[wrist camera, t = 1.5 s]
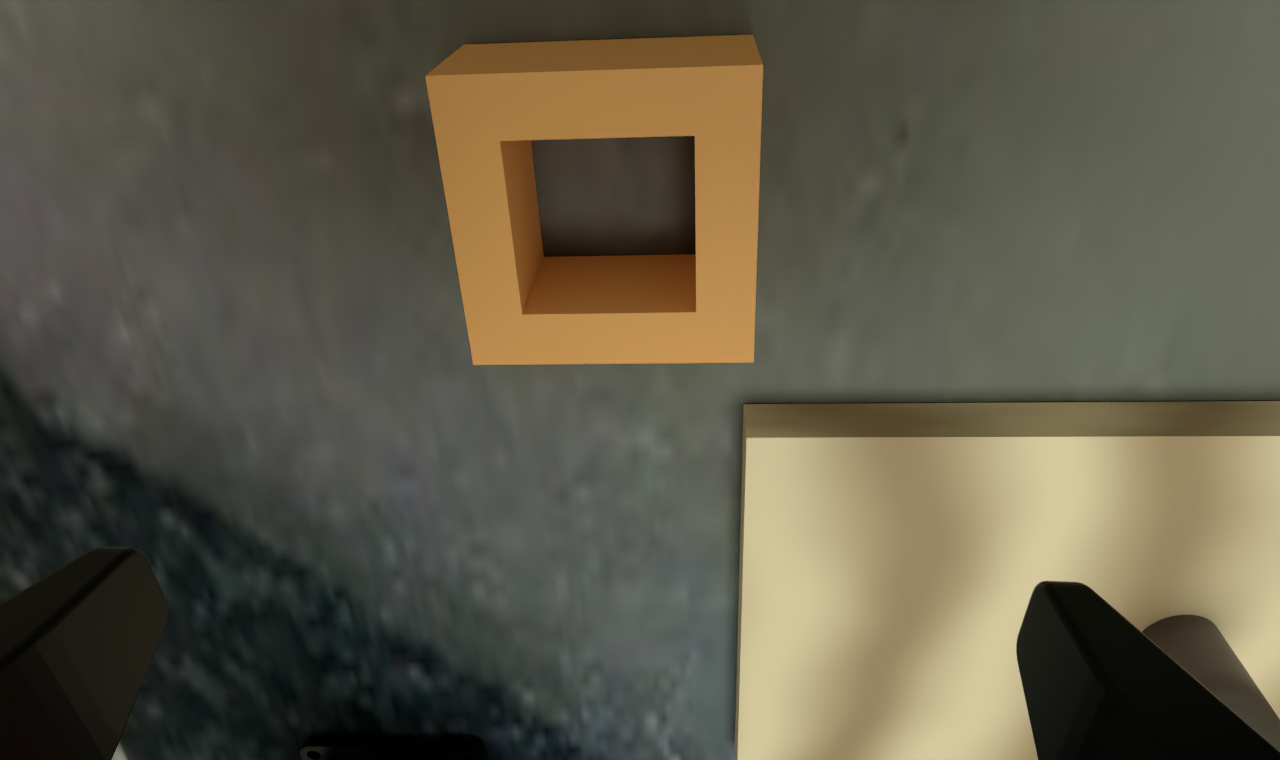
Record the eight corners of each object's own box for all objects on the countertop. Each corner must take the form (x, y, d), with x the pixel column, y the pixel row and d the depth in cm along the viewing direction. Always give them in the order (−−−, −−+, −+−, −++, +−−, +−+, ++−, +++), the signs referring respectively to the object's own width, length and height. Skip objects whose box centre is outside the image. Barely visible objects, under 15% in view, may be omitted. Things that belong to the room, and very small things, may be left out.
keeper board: (734, 744, 29) (746, 995, 23) (743, 404, 22) (764, 630, 16) (1345, 757, 28) (1542, 1028, 22) (1570, 399, 21) (1969, 645, 14)
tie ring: (500, 303, 21) (473, 364, 18) (463, 44, 18) (425, 75, 15) (745, 299, 20) (753, 362, 18) (752, 34, 17) (762, 64, 15)
